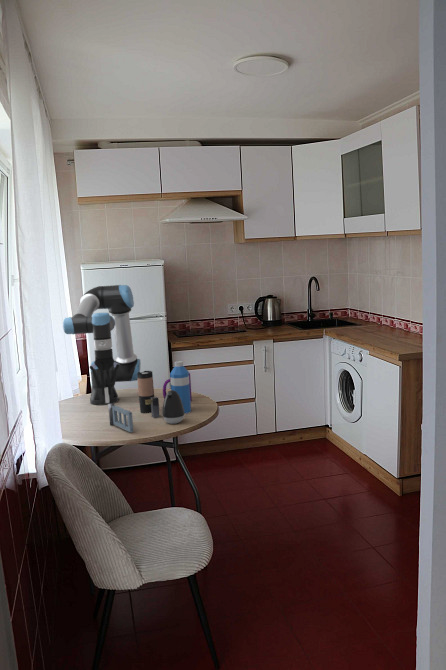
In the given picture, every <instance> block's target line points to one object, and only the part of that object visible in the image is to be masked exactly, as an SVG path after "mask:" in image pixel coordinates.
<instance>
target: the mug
mask: <svg viewBox="0 0 446 670" xmlns="http://www.w3.org/2000/svg"><path fill="white" fill-rule="evenodd" d="M169 383H171V382H170V378H169V379H166V380H165V381H164V383H163V386H162V395H163V398H164V399H165V396H166V394H167V387H168V386H167V385H168V384H169ZM189 384H190V401H191V402H192V401H193V400H192V399H193V397H192V383H191V372H189Z"/></svg>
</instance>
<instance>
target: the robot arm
mask: <svg viewBox="0 0 446 670" xmlns="http://www.w3.org/2000/svg"><path fill="white" fill-rule="evenodd" d="M79 301H80V302H79V305H78V307H77V308H76V310H75V312H74V313H73V316H69V317H64V319H63V321H62V328H63V332H64V334H66V335H82V334H85V335H86V334H93V335H92V337H93V348H94V360H93V361H92V362H91V363H90V366H89V370H90V377H91V387H92V388H91V392H90V397H89V401H90V402H89V403H90V404H91V405H93V406H95V405H96V406H100V405H101V406H104V405H108V404H109V403H114V404H115V403H118V401H119V394H118V393H117V390H116V388H115V385H116V383H117V382H118V383H120V382H121V383H124V382H136V381H137V382H138V377H137V373H138V372H140V373H141V363H142V362H141V359H140V358H138V356H137V354H135V353H134V346H133V337H132V329H131V320H130V312H131V311H132V308H133V307H134V306H135V301H134V295H133V291H132V288H131V287H130V286H129V285H127V284H116V285H100V286H99V285H98V286H95V287H92V288H90V289H89V290H87V291H86V292H85V293H83V295H82V296H81V297H80V299H79ZM97 310H108V312H96V311H97ZM94 312H95V313H94ZM112 331H113V332H114V339H115V347H116V348H115V349H116V353H117V355H116V356H115V358H114V355H113V354H114V353H113V348H112V347H113V342H112Z"/></svg>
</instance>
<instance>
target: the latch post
mask: <svg viewBox="0 0 446 670" xmlns="http://www.w3.org/2000/svg"><path fill="white" fill-rule="evenodd" d="M159 399H160V398H159V397H158V396H154V397H150V400H145V401H146V405H147V404H151V413H150V414H151V418H153V419H158V418H160V403H159Z"/></svg>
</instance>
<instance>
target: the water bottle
mask: <svg viewBox="0 0 446 670" xmlns="http://www.w3.org/2000/svg"><path fill="white" fill-rule="evenodd" d="M189 373H190V372H189V371H188V369H187V368H186V366H184V361H182V360H181V361H179V360H177V361H174V367H173V368H172V370H171V372H169V379H170V382H169V383H170V391H171V390H174V391H176V392H177V393H178V394H179V396H180V398H181V401H182V403H183V407H184V412H185V414H190V413H191V411H192V406H191V405H192V401H190V384H189ZM189 412H190V413H189ZM185 414H184V415H185Z"/></svg>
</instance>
